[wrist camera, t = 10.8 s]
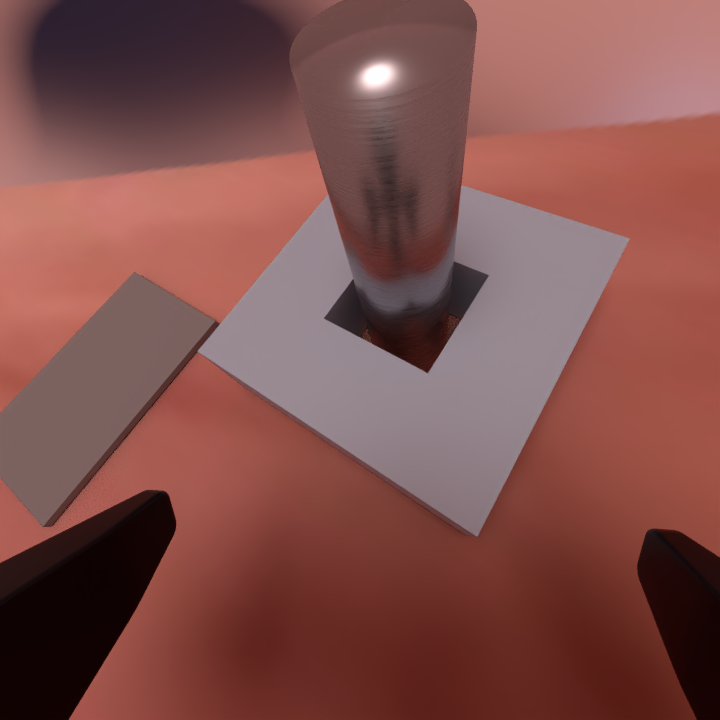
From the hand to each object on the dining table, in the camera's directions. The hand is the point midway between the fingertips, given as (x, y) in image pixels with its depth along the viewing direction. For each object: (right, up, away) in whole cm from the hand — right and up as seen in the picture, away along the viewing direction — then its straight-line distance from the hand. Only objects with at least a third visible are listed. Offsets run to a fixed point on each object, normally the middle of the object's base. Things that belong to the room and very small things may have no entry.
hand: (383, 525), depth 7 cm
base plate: (-14, +2, +13) cm, 19 cm away
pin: (+2, +4, +11) cm, 12 cm away
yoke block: (+2, +4, +11) cm, 12 cm away
